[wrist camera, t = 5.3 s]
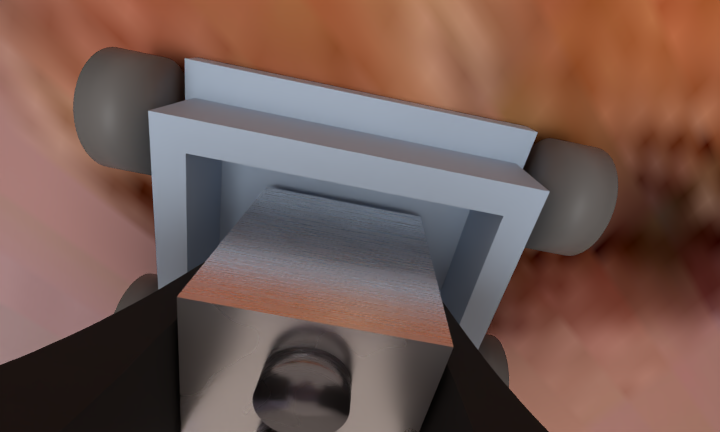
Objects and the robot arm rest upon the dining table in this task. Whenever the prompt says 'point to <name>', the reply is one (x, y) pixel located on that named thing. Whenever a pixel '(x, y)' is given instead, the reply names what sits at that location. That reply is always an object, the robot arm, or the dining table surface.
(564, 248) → the chassis
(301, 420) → the cube with two knobs
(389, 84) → the dining table surface
